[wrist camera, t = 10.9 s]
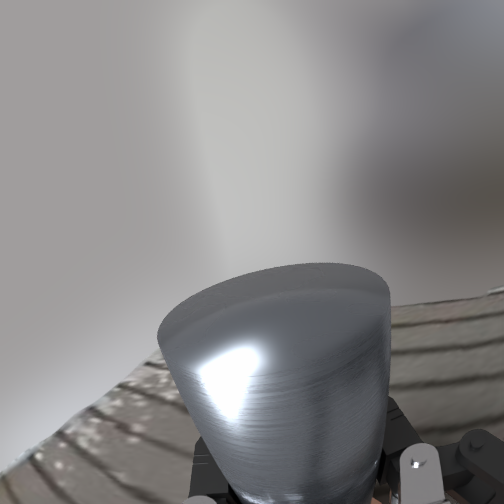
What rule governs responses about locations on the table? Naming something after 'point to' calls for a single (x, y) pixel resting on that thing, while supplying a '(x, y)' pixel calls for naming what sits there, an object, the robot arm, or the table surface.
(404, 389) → the table surface
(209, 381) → the rod
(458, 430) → the table surface
